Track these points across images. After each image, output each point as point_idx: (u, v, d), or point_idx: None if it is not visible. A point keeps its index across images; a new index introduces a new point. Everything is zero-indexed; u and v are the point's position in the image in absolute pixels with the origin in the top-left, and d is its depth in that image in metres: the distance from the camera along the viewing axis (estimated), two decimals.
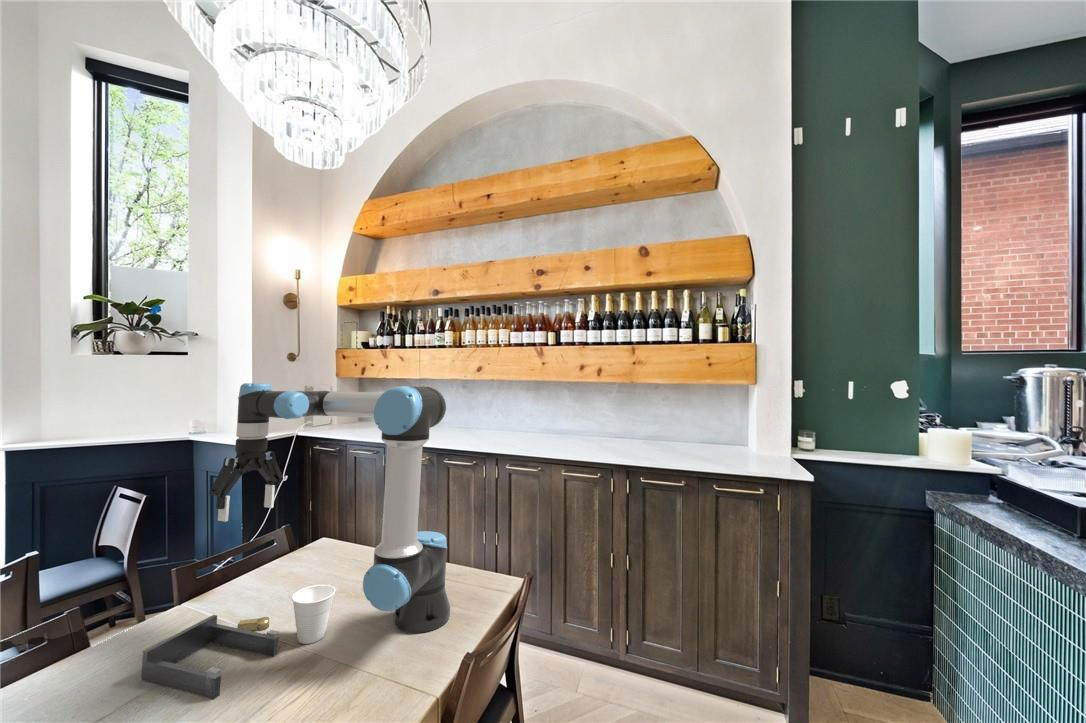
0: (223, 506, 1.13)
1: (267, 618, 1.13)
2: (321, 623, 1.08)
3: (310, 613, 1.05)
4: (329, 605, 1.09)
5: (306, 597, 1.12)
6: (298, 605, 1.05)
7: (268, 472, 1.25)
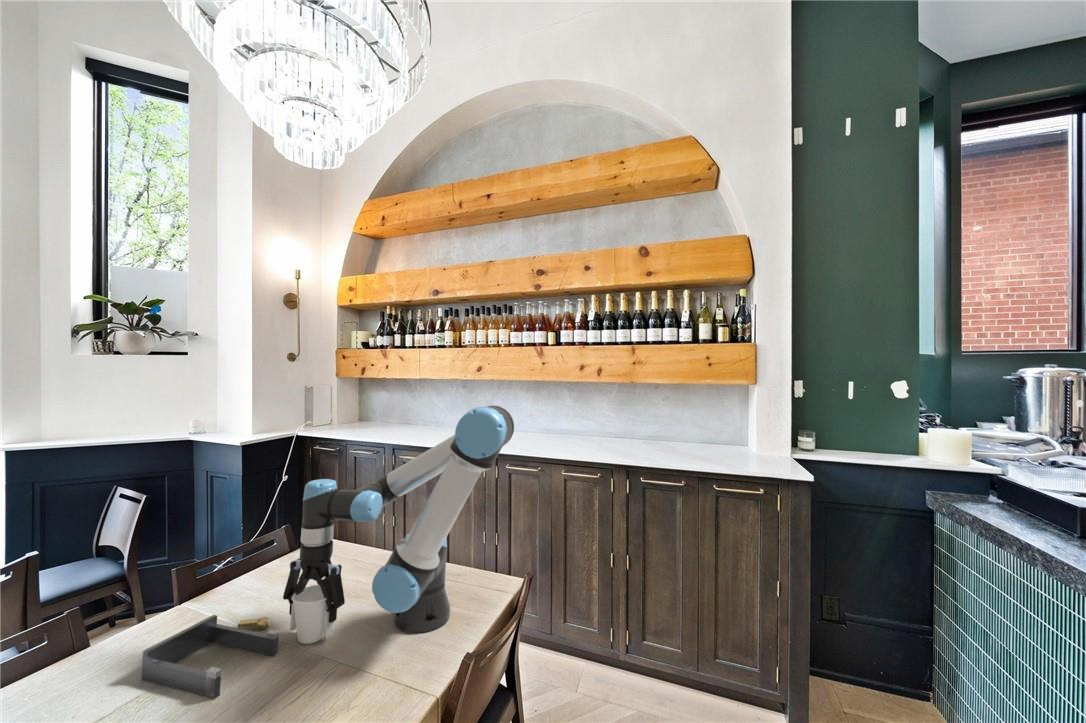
0: None
1: (267, 618, 1.13)
2: (321, 623, 1.08)
3: (310, 613, 1.05)
4: None
5: (306, 597, 1.12)
6: (298, 605, 1.05)
7: (323, 590, 1.08)
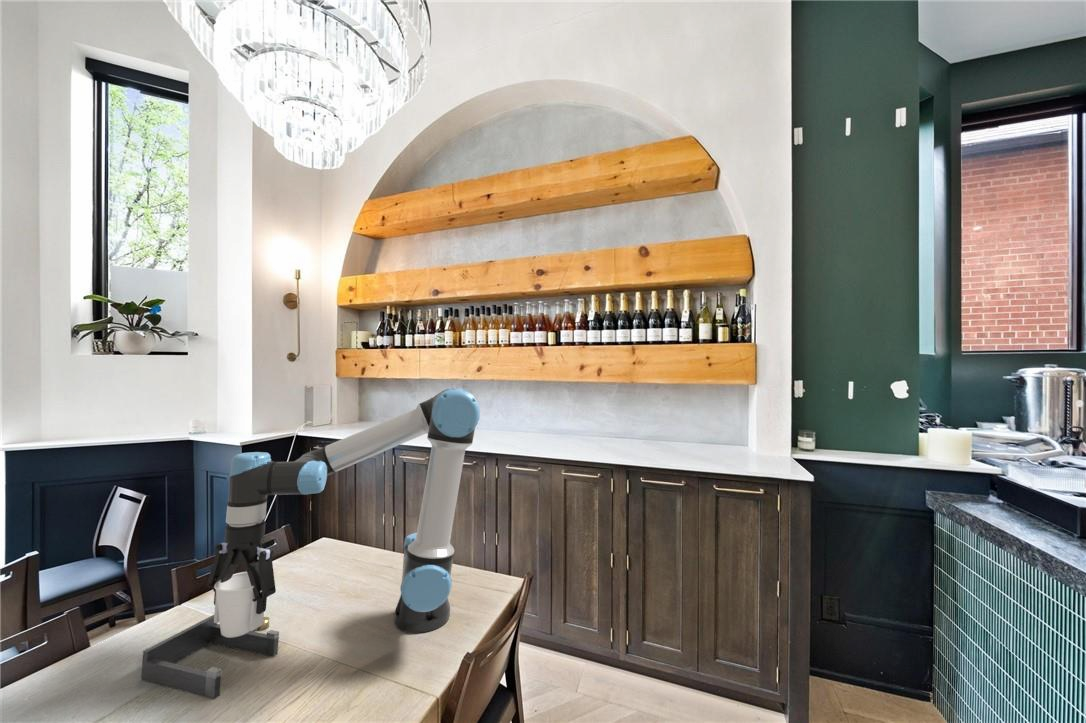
0: (217, 603, 0.97)
1: (267, 618, 1.13)
2: (248, 615, 0.95)
3: (234, 603, 0.92)
4: None
5: (234, 585, 0.99)
6: (220, 593, 0.92)
7: (251, 577, 0.95)
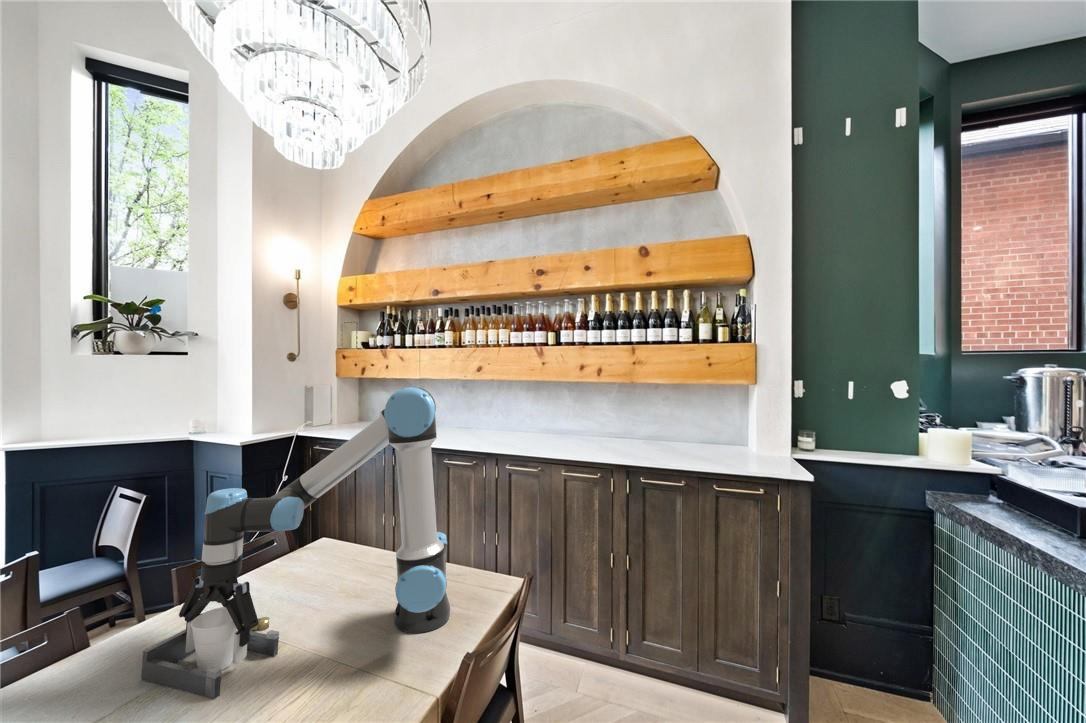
0: None
1: (267, 618, 1.13)
2: (225, 651, 0.96)
3: (210, 641, 0.93)
4: (235, 630, 0.97)
5: (212, 621, 1.00)
6: (196, 631, 0.93)
7: (231, 612, 0.95)
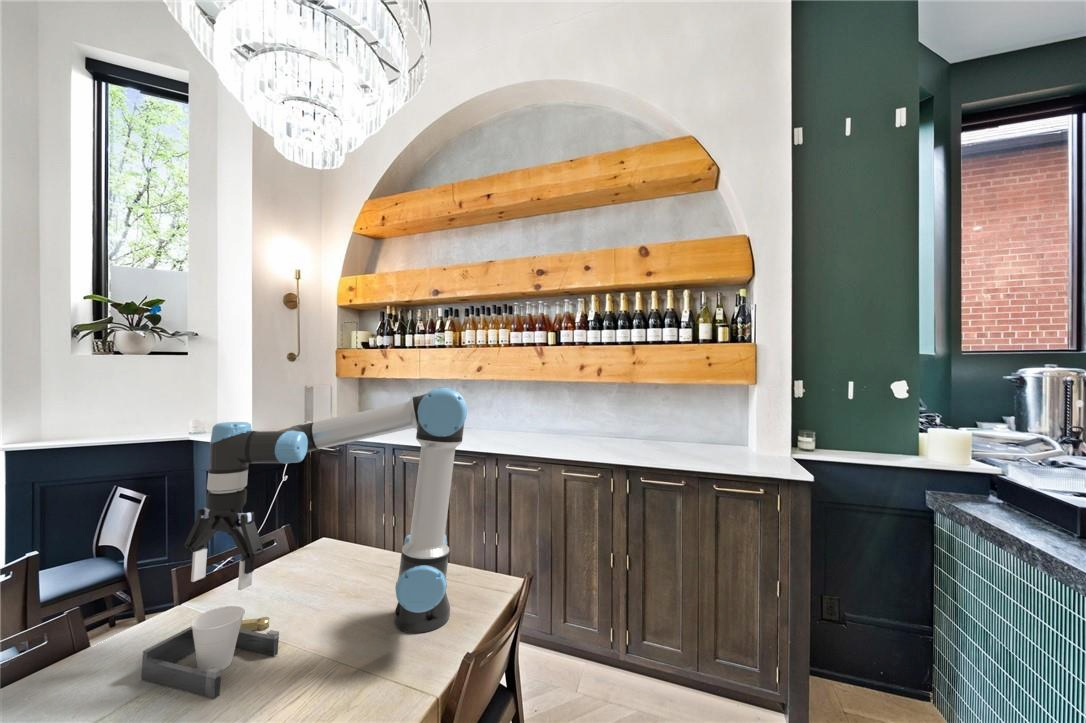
0: None
1: (267, 618, 1.13)
2: (225, 651, 0.96)
3: (210, 641, 0.93)
4: (235, 630, 0.97)
5: (212, 621, 1.00)
6: (196, 631, 0.93)
7: (236, 540, 0.96)
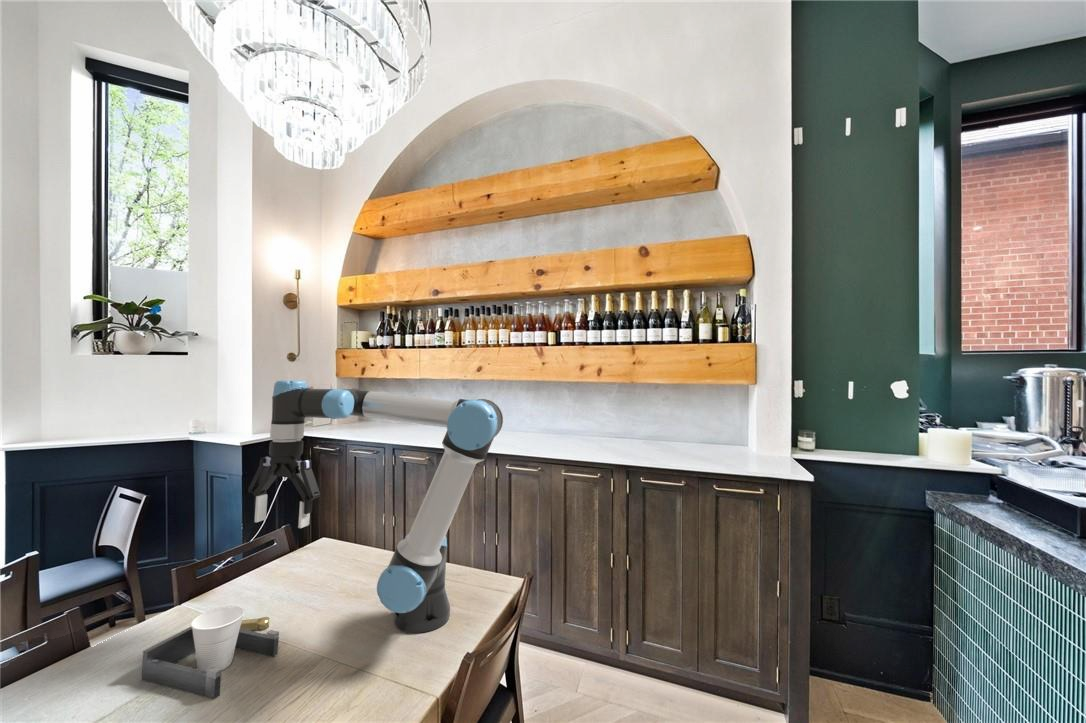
0: None
1: (267, 618, 1.13)
2: (225, 651, 0.96)
3: (210, 641, 0.93)
4: (235, 630, 0.97)
5: (212, 621, 1.00)
6: (196, 631, 0.93)
7: (296, 484, 1.07)
